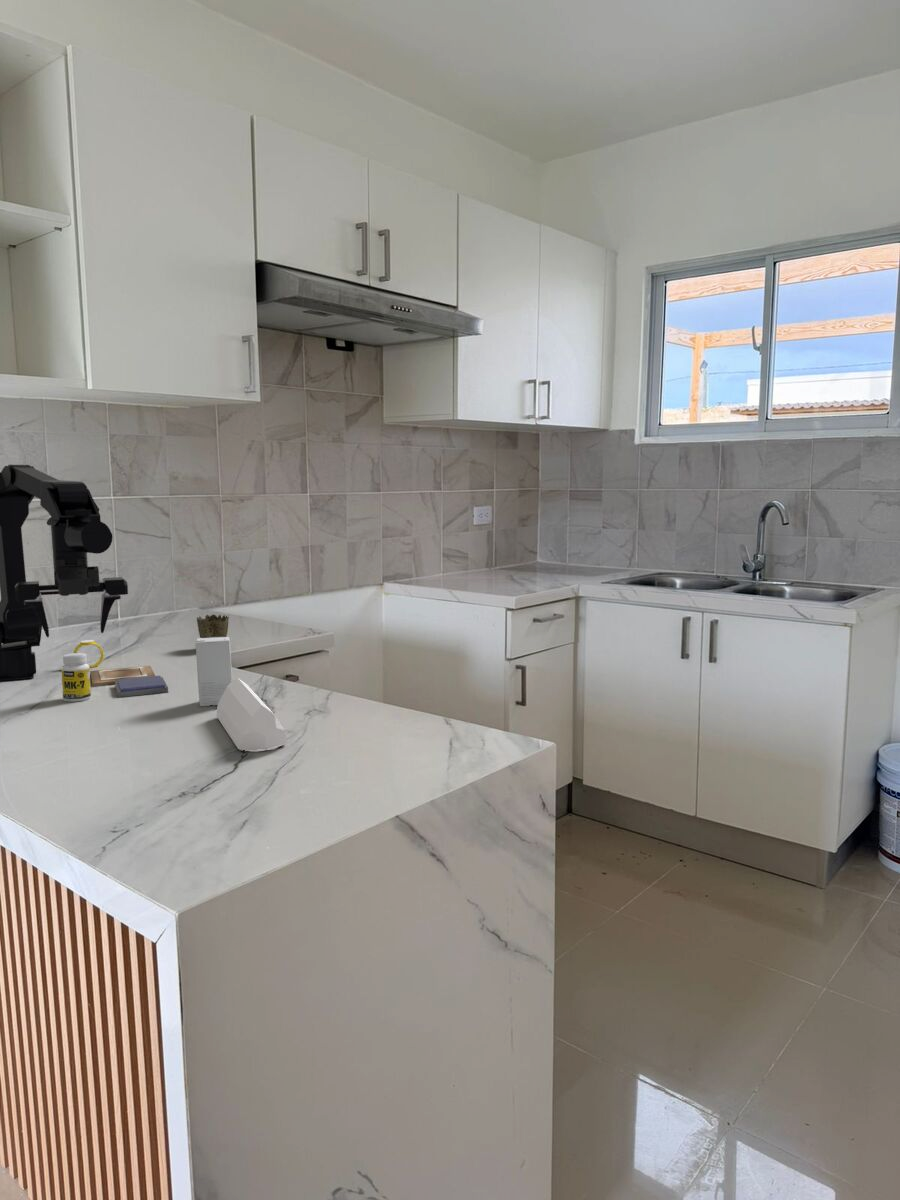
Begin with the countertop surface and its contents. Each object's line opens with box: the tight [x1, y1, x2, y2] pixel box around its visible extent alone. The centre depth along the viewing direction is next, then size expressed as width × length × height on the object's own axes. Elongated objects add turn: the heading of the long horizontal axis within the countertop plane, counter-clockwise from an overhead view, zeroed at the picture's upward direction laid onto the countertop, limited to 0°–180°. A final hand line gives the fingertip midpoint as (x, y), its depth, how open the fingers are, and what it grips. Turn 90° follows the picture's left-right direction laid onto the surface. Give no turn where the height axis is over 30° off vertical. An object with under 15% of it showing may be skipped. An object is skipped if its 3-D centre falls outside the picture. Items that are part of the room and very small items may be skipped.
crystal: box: [216, 677, 288, 751], centre depth 136 cm, size 7×7×24 cm
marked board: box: [90, 665, 156, 687], centre depth 173 cm, size 12×12×1 cm
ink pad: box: [114, 675, 169, 698], centre depth 163 cm, size 9×9×2 cm
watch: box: [72, 639, 105, 669], centre depth 182 cm, size 6×3×6 cm, turn 122°
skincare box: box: [194, 636, 233, 707], centre depth 152 cm, size 6×4×12 cm
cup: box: [196, 614, 230, 638], centre depth 201 cm, size 8×7×8 cm
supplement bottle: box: [61, 652, 92, 703], centre depth 156 cm, size 5×5×8 cm
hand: (75, 634), depth 155 cm, fingers open, 9 cm apart
